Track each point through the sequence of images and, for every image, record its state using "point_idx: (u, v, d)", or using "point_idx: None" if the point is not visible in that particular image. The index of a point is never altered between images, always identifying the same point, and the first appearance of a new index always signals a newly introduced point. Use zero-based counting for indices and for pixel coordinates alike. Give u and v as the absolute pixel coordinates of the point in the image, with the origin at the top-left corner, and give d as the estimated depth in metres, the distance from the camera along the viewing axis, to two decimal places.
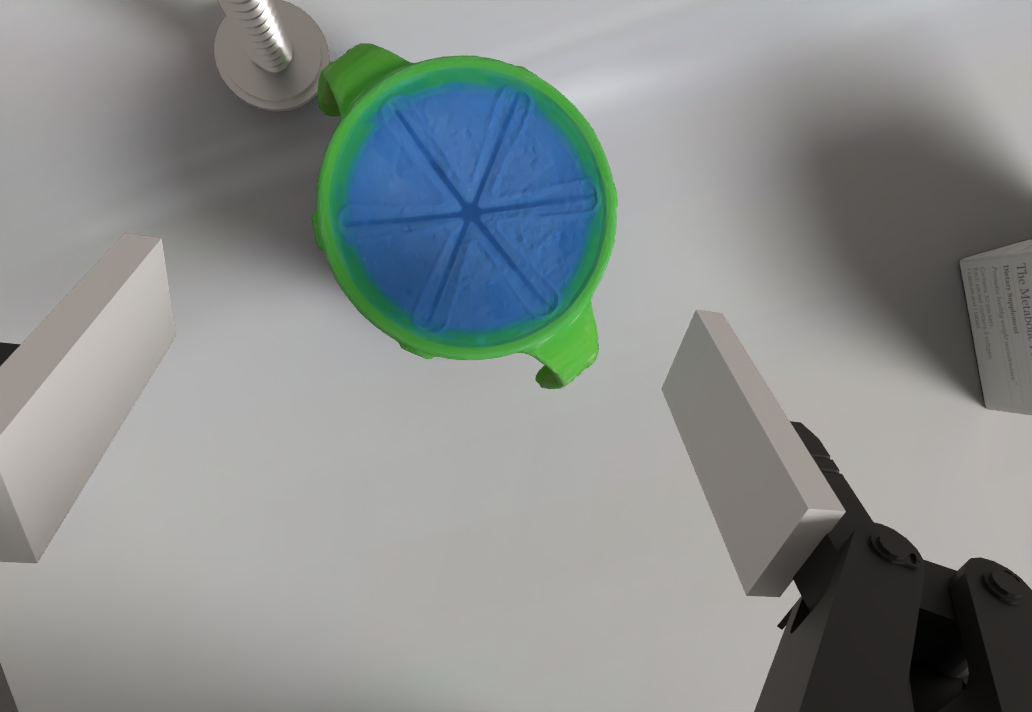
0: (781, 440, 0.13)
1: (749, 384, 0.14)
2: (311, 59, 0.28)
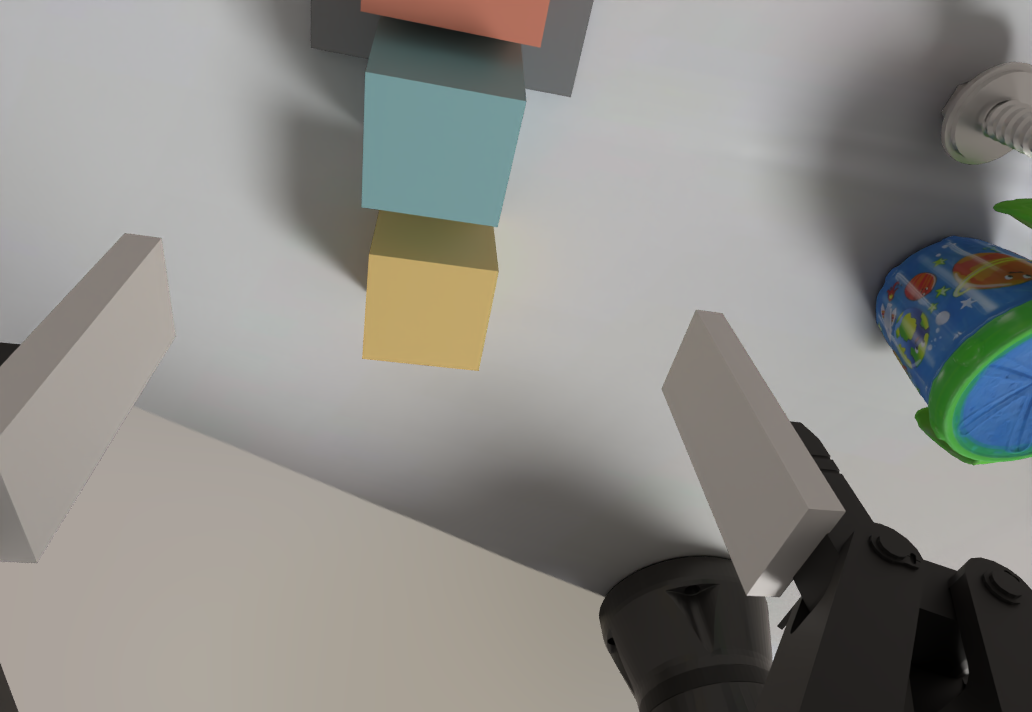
0: (781, 440, 0.13)
1: (749, 384, 0.14)
2: None
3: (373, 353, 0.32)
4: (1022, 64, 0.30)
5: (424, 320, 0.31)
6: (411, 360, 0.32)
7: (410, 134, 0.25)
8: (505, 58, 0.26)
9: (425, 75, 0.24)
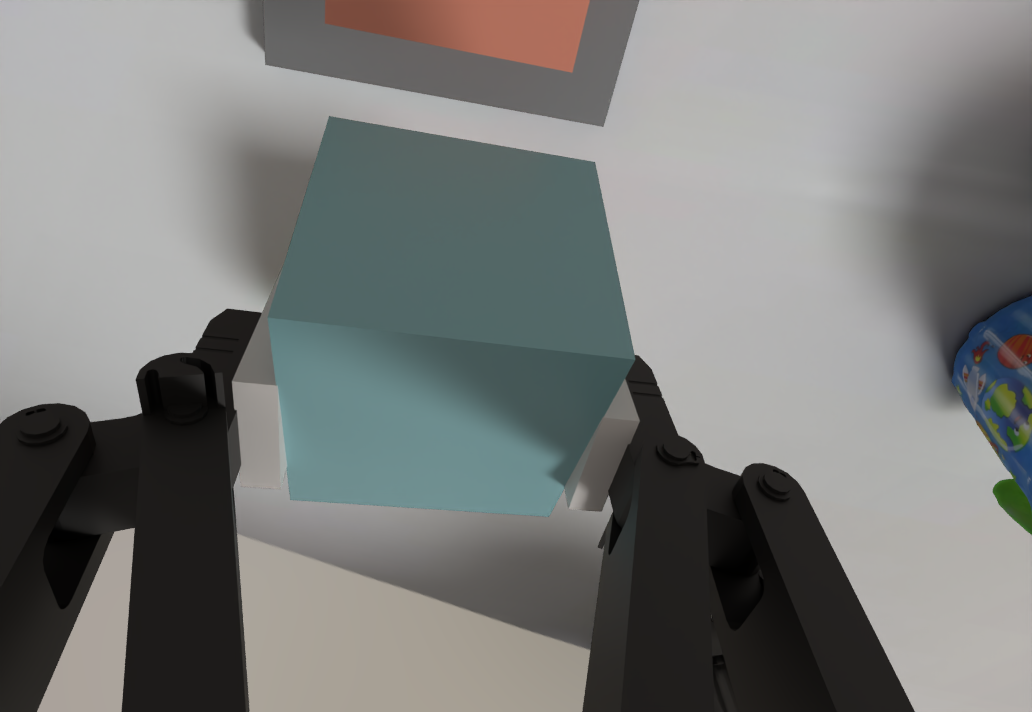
0: None
1: None
2: None
3: None
4: None
5: None
6: None
7: (380, 409, 0.12)
8: (575, 229, 0.13)
9: (412, 308, 0.10)
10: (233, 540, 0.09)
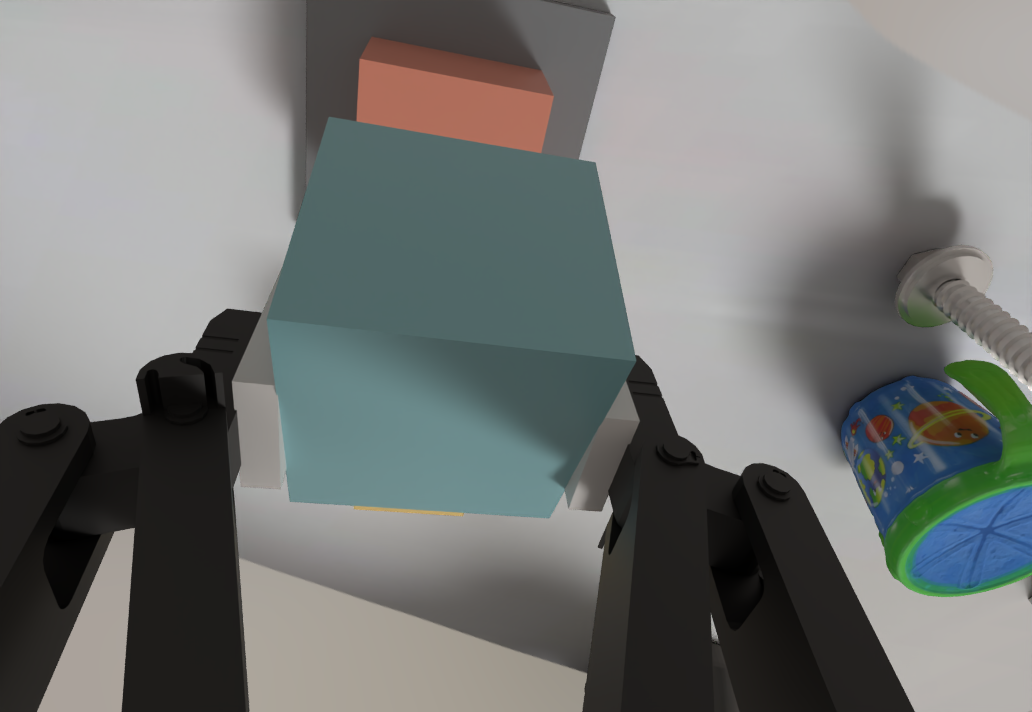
0: None
1: None
2: None
3: None
4: (968, 248, 0.32)
5: None
6: (400, 509, 0.34)
7: (379, 410, 0.12)
8: (575, 230, 0.13)
9: (411, 310, 0.10)
10: (233, 540, 0.09)
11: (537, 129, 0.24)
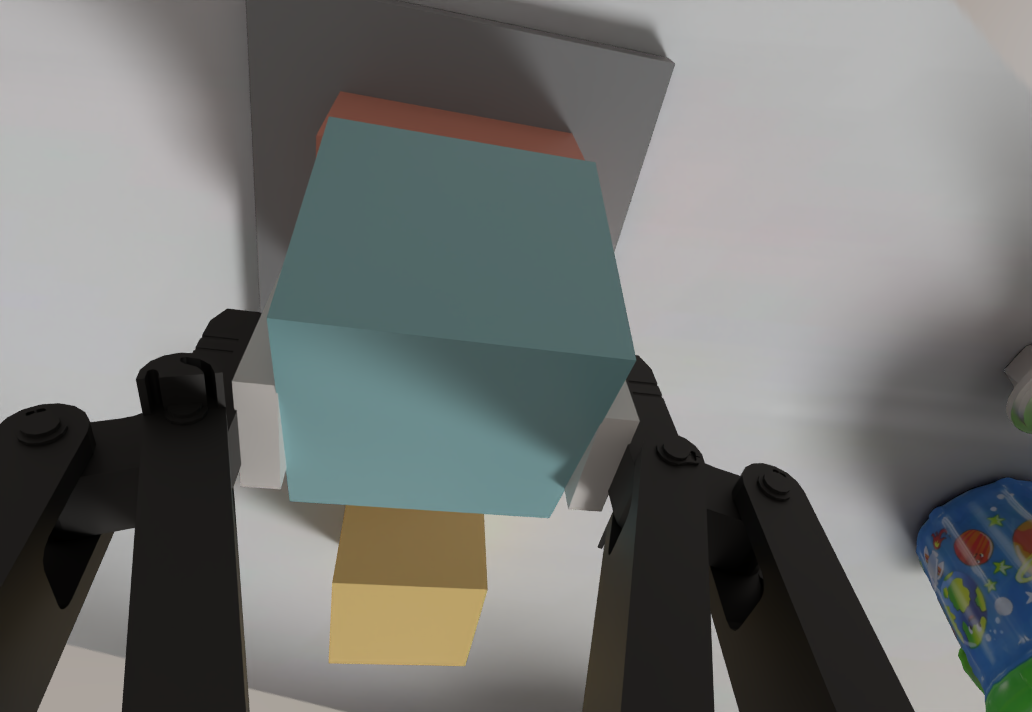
0: None
1: None
2: None
3: (341, 658, 0.27)
4: None
5: (400, 630, 0.26)
6: (386, 662, 0.28)
7: (379, 409, 0.12)
8: (575, 230, 0.13)
9: (411, 309, 0.10)
10: (233, 540, 0.09)
11: None
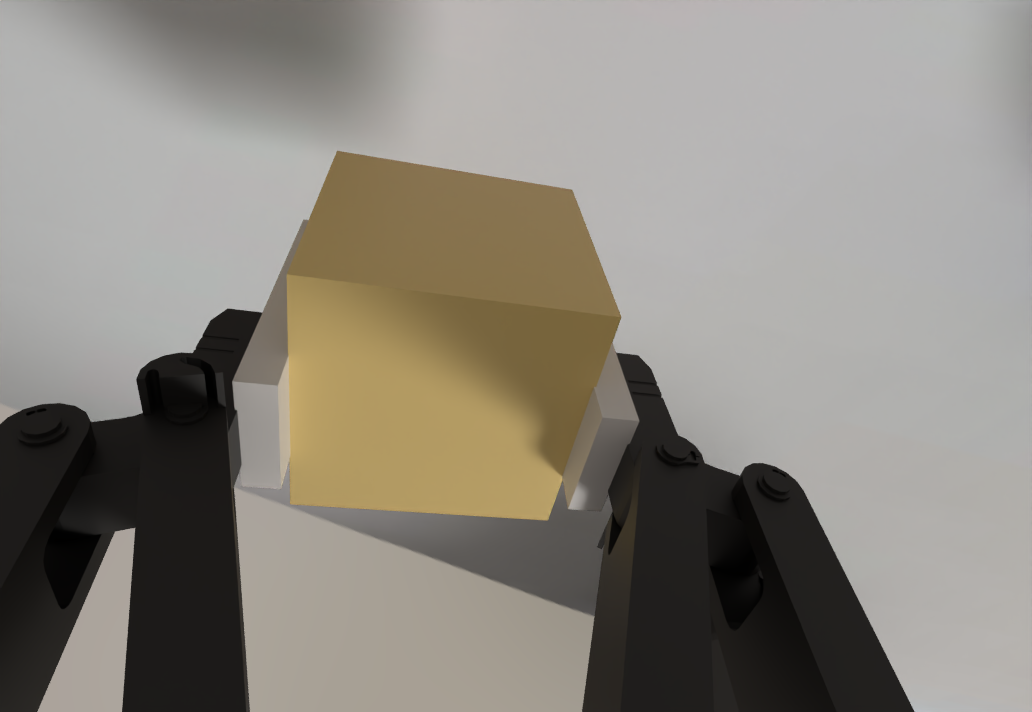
0: None
1: None
2: None
3: (315, 494, 0.14)
4: None
5: (432, 426, 0.13)
6: (402, 505, 0.14)
7: None
8: None
9: None
10: (233, 540, 0.09)
11: None
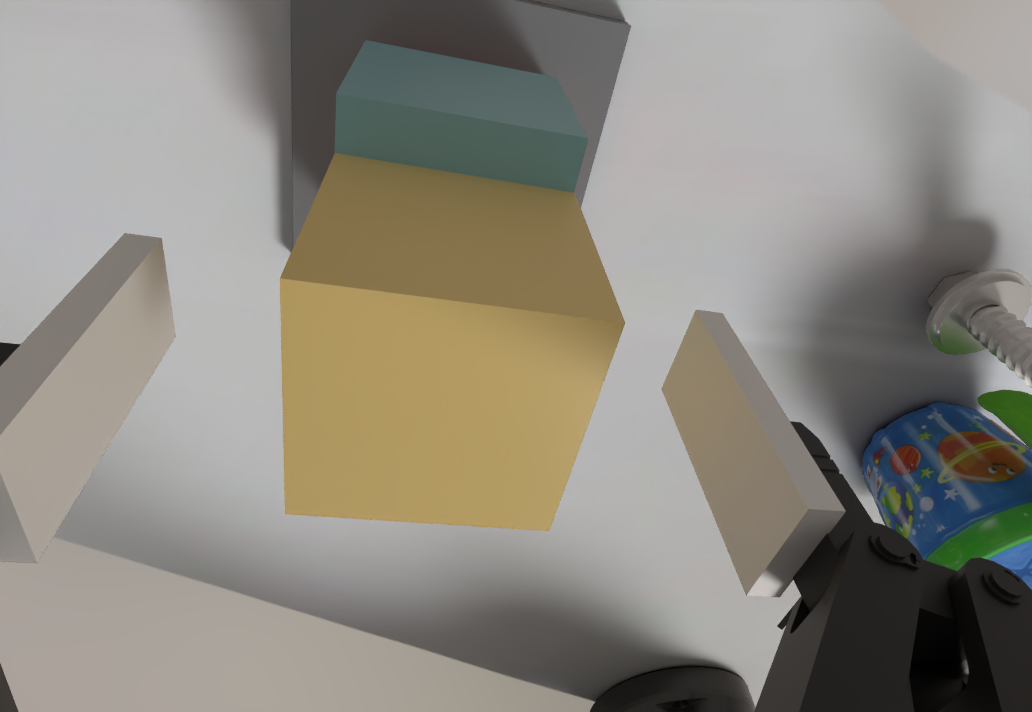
0: (781, 440, 0.13)
1: (749, 384, 0.14)
2: None
3: (310, 503, 0.14)
4: (1006, 273, 0.30)
5: (430, 434, 0.13)
6: (399, 515, 0.14)
7: None
8: (543, 95, 0.18)
9: (432, 103, 0.15)
10: None
11: None
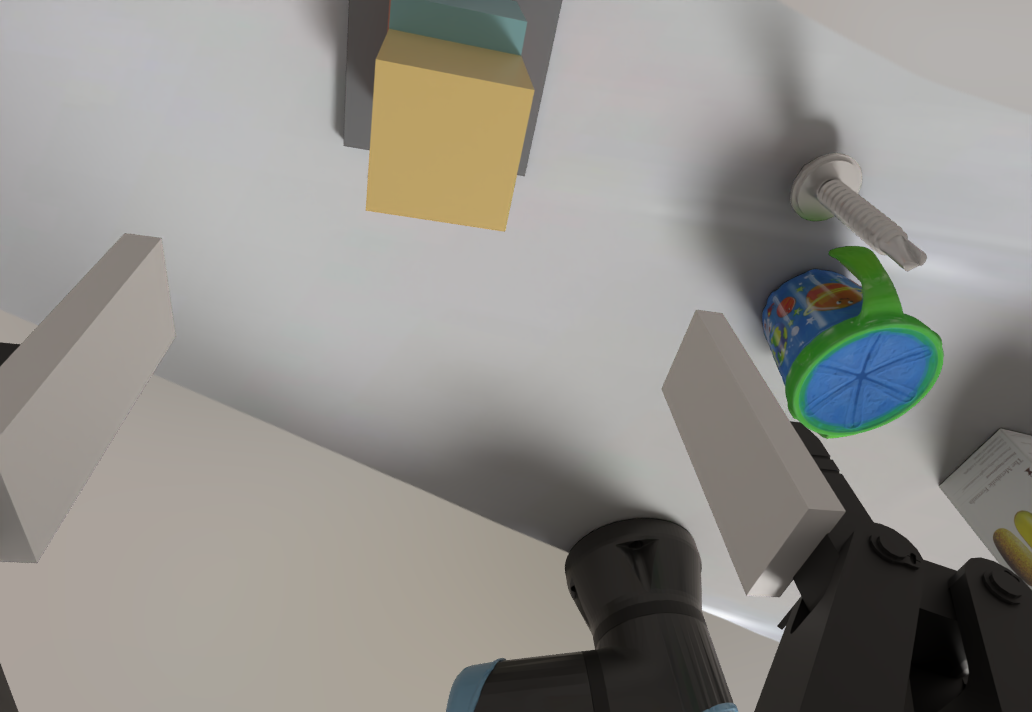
0: (781, 440, 0.13)
1: (749, 384, 0.14)
2: None
3: (379, 203, 0.26)
4: (840, 155, 0.42)
5: (441, 157, 0.25)
6: (425, 214, 0.27)
7: None
8: (506, 6, 0.31)
9: (441, 1, 0.28)
10: None
11: None
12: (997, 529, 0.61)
